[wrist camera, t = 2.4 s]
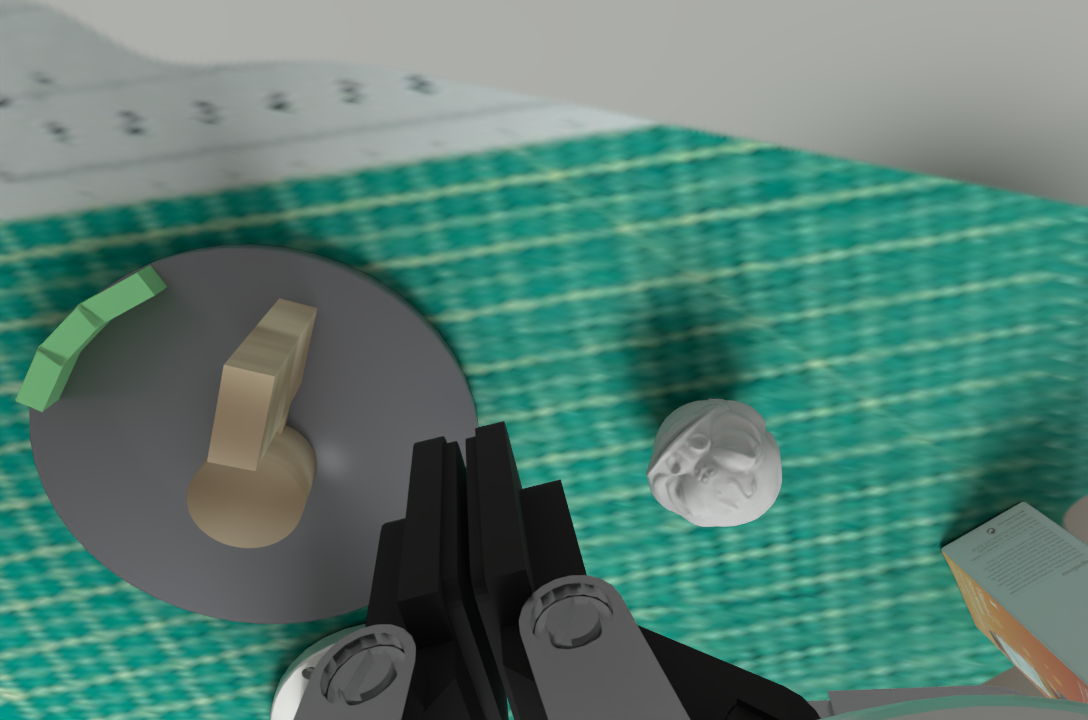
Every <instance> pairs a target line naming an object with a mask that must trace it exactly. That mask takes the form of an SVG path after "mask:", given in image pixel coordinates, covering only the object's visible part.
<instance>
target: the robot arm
mask: <svg viewBox="0 0 1088 720" xmlns="http://www.w3.org/2000/svg"><path fill="white" fill-rule="evenodd" d="M465 443H466V467H465V463H464V460H463V457H462V453H461V450H460V447H459V444H458V442H457V441H454V442H450V443H447V441H446V438H445V437H444V436H441V437H437V438H433V439H429V440H425V441H421V442H417V443H414V445H413V453H412V462H411V471H410V480H409V490H408V499H407V508H406V517H405V518H403V519H399V520H395V521H391V522H387V523H384V524H383V525H382V528H381V532H380V538H379V544H378V550H377V557H376V563H375V569H374V575H373V581H372V588H371V594H370V600H369V606H368V612H367V619H366V624H362V625H358V626H354V627H351V628H347V629H343V630H341V631H339V632H336V633H334V634H332V635H329V636H327V637H325V638H323V639H321V640H320V641H318V642H317V643H315V644H313V645H312V646H310V647H309V648H307V649H306V650H305V651H304V652H303V653H301V654H300V655H299V656H298V657H297V658H296V659H295V660H294V661H293V662H292V663H291V664H290V666H289V667H288V669H287V670H286V672H285V673H284V674H283V676H282V677H281V680H280V682H279V685H278V687H277V690H276V692H275V696H274V700H273V704H272V708H271V712H270V720H509V719H508V707H507V698H508V701H509V704H510V707H511V710H512V714H513V717H514V720H1088V703H1082V702H1077V701H1072V700H1063V699H1053V698H1043V697H1032V696H1028V695H1025V694H1022V693H1020V692H1017V691H1014V690H1012V689H1009V688H1004V687H996V686H987V685H975V686H949V687H922V688H896V689H869V690H842V691H828V700H824V701H806V700H805V699H804V698H803V697H802V696H800V695H798V694H797V693H795V692H793V691H791V690H790V689H788V688H786V687H784V686H782V685H780V684H777V683H775V682H773V681H770V680H768V679H765V678H763V677H761V676H758V675H756V674H753V673H751V672H749V671H746V670H744V669H741V668H739V667H737V666H734V665H732V664H729V663H727V662H725V661H722V660H720V659H717V658H715V657H713V656H710V655H708V654H705V653H703V652H701V651H698V650H696V649H693V648H691V647H689V646H686V645H684V644H681V643H679V642H677V641H674V640H672V639H669V638H667V637H665V636H662V635H660V634H657V633H655V632H653V631H650V630H648V629H645V628H643V627H641V626H638V625H637V623H636V622H635V620H634V618H633V616H632V615H631V613H630V611H629V609H628V607H627V606H626V604H625V602H624V600H623V598H622V597H621V595H620V594H619V593H618V592H617V590H616V589H615V588H614V587H613V586H612V585H611V584H609V583H607V582H606V581H604V580H602V579H600V578H596V577H592V576H588V575H586V571H585V567H584V564H583V560H582V556H581V553H580V549H579V545H578V542H577V538H576V534H575V531H574V527H573V523H572V520H571V516H570V512H569V509H568V505H567V501H566V498H565V494H564V490H563V487H562V483H561V480H557V481H553V482H549V483H545V484H541V485H537V486H533V487H529V488H525V489H522V486H521V482H520V478H519V475H518V471H517V467H516V463H515V459H514V455H513V452H512V448H511V444H510V440H509V436H508V432H507V429H506V425H505V422H504V421H503V422H499V423H495V424H491V425H487V426H482V427H478V428H475V436H474V437H470V438H466V439H465ZM506 695H507V696H506Z"/></svg>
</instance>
